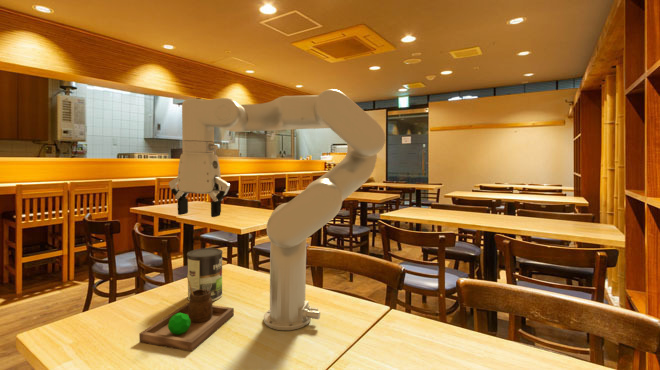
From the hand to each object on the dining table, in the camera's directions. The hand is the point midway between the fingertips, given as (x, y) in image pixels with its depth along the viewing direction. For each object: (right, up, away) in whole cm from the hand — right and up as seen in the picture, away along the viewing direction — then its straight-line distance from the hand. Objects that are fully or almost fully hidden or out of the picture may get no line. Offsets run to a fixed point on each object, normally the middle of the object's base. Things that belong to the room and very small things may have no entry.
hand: (199, 215), depth 87 cm
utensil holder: (-1, -28, +2) cm, 28 cm away
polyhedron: (-3, -28, -6) cm, 29 cm away
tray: (-2, -29, -2) cm, 29 cm away
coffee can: (-5, -27, +18) cm, 33 cm away
